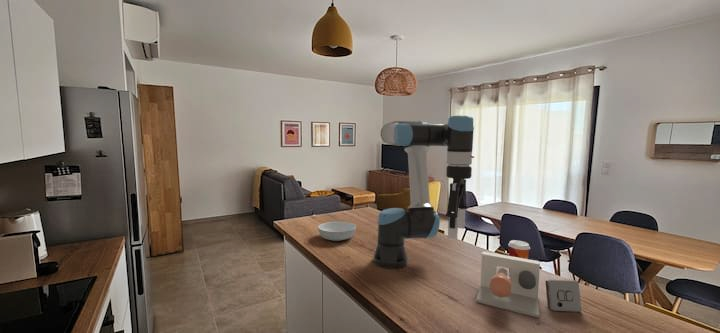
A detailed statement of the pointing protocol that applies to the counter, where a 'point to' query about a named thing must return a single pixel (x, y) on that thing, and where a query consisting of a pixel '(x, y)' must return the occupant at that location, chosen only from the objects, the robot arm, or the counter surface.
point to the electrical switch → (563, 295)
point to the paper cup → (518, 249)
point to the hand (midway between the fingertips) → (456, 232)
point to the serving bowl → (336, 230)
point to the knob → (500, 284)
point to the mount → (522, 283)
